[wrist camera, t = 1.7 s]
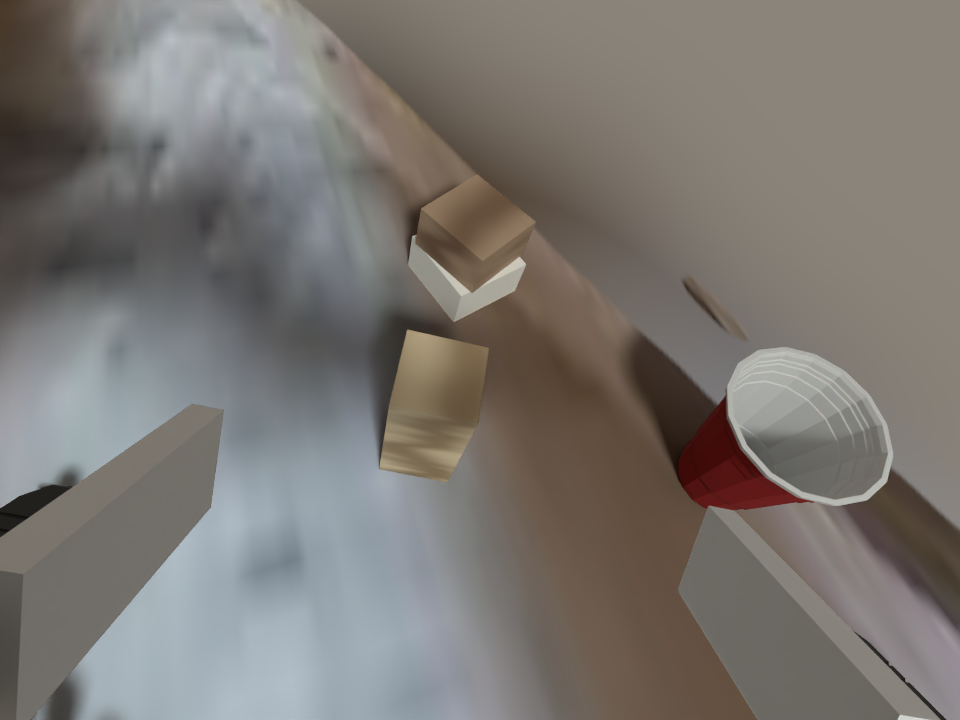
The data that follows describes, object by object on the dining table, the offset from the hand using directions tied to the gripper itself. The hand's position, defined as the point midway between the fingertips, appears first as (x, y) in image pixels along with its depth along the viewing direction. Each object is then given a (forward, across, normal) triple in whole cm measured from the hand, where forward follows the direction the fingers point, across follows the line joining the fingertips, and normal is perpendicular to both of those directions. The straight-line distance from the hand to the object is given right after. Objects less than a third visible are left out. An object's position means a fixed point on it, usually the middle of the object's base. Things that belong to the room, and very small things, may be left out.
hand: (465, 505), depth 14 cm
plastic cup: (+27, +23, -8) cm, 36 cm away
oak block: (+25, -1, -9) cm, 27 cm away
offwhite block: (+37, 0, +2) cm, 37 cm away
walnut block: (+34, 0, +5) cm, 34 cm away
